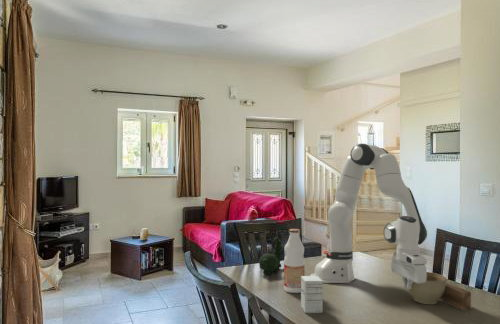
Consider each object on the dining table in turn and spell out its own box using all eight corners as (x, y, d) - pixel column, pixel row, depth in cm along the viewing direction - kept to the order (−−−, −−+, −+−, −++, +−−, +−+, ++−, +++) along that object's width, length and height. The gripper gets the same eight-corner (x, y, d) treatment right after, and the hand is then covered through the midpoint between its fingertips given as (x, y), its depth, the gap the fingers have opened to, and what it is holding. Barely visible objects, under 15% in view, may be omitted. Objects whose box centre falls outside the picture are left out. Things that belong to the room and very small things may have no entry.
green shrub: (270, 269, 228) (253, 276, 205) (271, 235, 230) (255, 239, 207) (286, 271, 224) (271, 278, 201) (287, 237, 226) (272, 240, 203)
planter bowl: (446, 310, 161) (446, 283, 161) (403, 303, 168) (403, 277, 168) (446, 298, 175) (446, 273, 175) (406, 293, 182) (407, 269, 182)
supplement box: (300, 306, 164) (300, 275, 164) (318, 306, 164) (318, 275, 164) (304, 313, 156) (304, 280, 156) (323, 312, 157) (323, 280, 157)
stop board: (462, 310, 161) (462, 292, 161) (424, 291, 184) (424, 276, 184) (470, 309, 162) (470, 292, 162) (431, 291, 185) (432, 276, 185)
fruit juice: (293, 294, 178) (293, 231, 178) (279, 289, 186) (280, 229, 186) (308, 291, 184) (309, 230, 184) (294, 286, 191) (295, 227, 192)
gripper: (387, 250, 179) (387, 281, 179) (415, 261, 159) (415, 296, 159) (400, 250, 180) (400, 281, 180) (429, 260, 160) (429, 295, 160)
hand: (407, 288), depth 169 cm, fingers closed
